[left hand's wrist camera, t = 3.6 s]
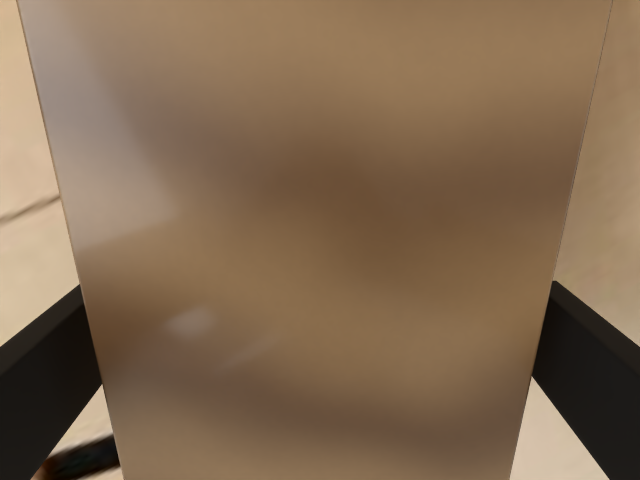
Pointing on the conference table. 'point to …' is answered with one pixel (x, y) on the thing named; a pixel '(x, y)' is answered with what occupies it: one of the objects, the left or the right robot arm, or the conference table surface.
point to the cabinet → (315, 222)
